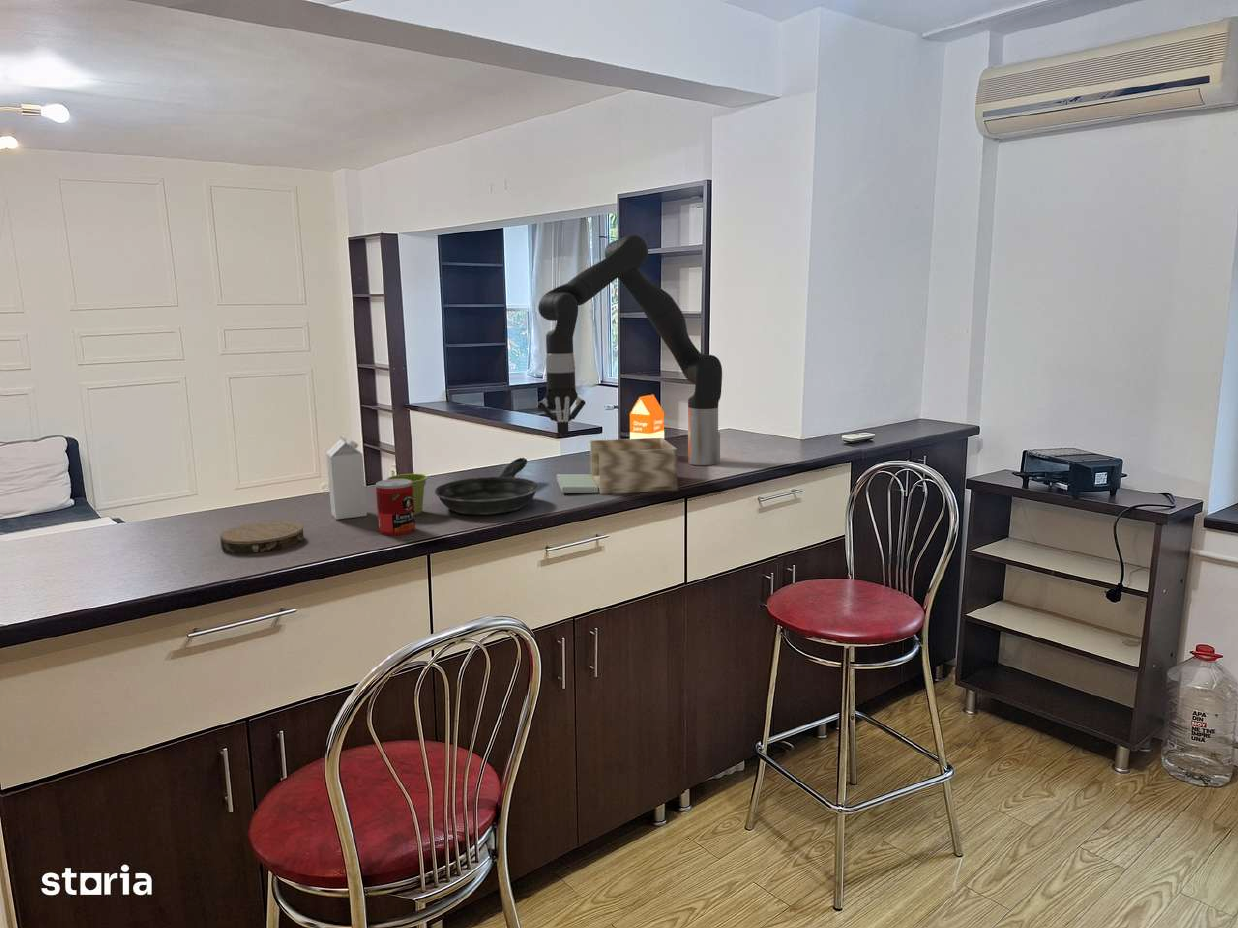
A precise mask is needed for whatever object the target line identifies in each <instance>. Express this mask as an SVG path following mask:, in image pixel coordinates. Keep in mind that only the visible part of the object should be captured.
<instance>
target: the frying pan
mask: <svg viewBox="0 0 1238 928" xmlns="http://www.w3.org/2000/svg"><path fill="white" fill-rule="evenodd" d="M527 463H528V460H527V459H526V458H525V457H519V458H516V459H515V460H513V461H511V462H510V463H509V464H507V465H506V467H504V469H503V471H502V473H501V474H500V475H499V476H485V477H472V478H465V479H459V480H453V481H449V482H446V483H444V484H441V485H439V486H438V487H436V488H435V489H434V494H435V495H436V496H437V497H438V499H439V500H440V501H441V503H442V504H443V505H444V506H445V507H446V508H447V509H449V510H451V511H452V512H455V513H459V514H464V515H472V516H473V515H474V516H491V515H500V514H505V513H510V512H514V511H517V510H519V509H522V508H524V507H525V506H526V505H528V504H529V503H530V502H531V501H532V499H533V498H534V496H535V494H536V492H537V491H538V489H539V486H540V485H539V483H537V482H536V481H534V480H531V479H527V478H522V477H515V476H516V475H517V474H518V473H520V472H521V471H522V470H523V469H525V467H526V465H527Z"/></svg>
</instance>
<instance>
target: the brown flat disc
mask: <svg viewBox="0 0 1238 928" xmlns="http://www.w3.org/2000/svg"><path fill="white" fill-rule="evenodd" d="M219 538H220V545H221V546H220V547H221V550H222V552H224V553H227V554H230V555H231V554H232V555H259V554H267V553H275V552H279V551H283V550H287V549H290V548H294V547H295V546H298V545H299V544H301V543H303V541H304V538H305V537H304V527H303V525H302V524H301V523H299V522H294V521H283V520H281V521H280V520H278V521H275V520H274V521H260V522H255V523H248V524H243V525H239V526H234V527H232V528H229V529H226V530H225V531H223V532H222V533H220V535H219Z"/></svg>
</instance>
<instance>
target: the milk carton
mask: <svg viewBox="0 0 1238 928" xmlns="http://www.w3.org/2000/svg"><path fill="white" fill-rule="evenodd" d="M339 437H340V438H339V440H337V442H336V443H335V444H334V445H332V446H331V447H330V448H329V449H328V450H327V451H326V452H325V453H326V465H327V476H328V477H327V478H328V489H329V501H330V510H331V511H330V513H331V516H332V517H334V519H335V520H343V519H344V520H345V519H352V518H360V517H361V518H362V517H367V516H368V510H367V509H368V508H367V496H366V484H365V483H366V481H365V470H364V459H363V457H364V456H363V453H362V452H360V451H359V450H358V449H357V448H358V447H359V444H358V443H357V442H355V441H354V440H352V439H350V440H349V442H347V438H346V437H345V436H344V435H342V434H339Z"/></svg>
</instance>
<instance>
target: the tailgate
mask: <svg viewBox="0 0 1238 928" xmlns="http://www.w3.org/2000/svg"><path fill="white" fill-rule="evenodd" d="M556 481H557V484H558V487H559V489H560V492H561V493H562V494H573V493H574V494H576V493H577V494H579V493H580V494H586V493H587V494H599V491H598V486H597V484H596V483H595V481H594V479H593V478H592V476H591V473H589V474H587V473H585V474H583V473H582V474H581V473H580V474H579V473H577V474H576V473H575V474H574V473H568V474H567V473H566V474H562V473H557V474H556Z"/></svg>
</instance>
